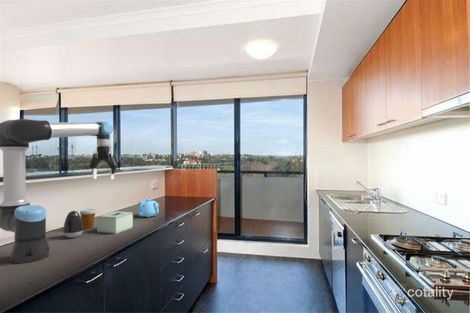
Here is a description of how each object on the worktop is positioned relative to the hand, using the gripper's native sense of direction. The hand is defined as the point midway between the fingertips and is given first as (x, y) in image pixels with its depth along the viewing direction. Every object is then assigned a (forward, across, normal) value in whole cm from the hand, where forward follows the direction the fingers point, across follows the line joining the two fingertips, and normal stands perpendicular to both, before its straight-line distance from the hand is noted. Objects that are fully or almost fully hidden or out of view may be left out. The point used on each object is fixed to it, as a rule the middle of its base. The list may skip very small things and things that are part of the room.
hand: (103, 178), depth 177 cm
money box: (+33, -8, -2) cm, 34 cm away
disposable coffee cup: (+33, +12, 0) cm, 35 cm away
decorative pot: (+33, -4, -44) cm, 55 cm away
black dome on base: (+33, +5, +18) cm, 38 cm away
